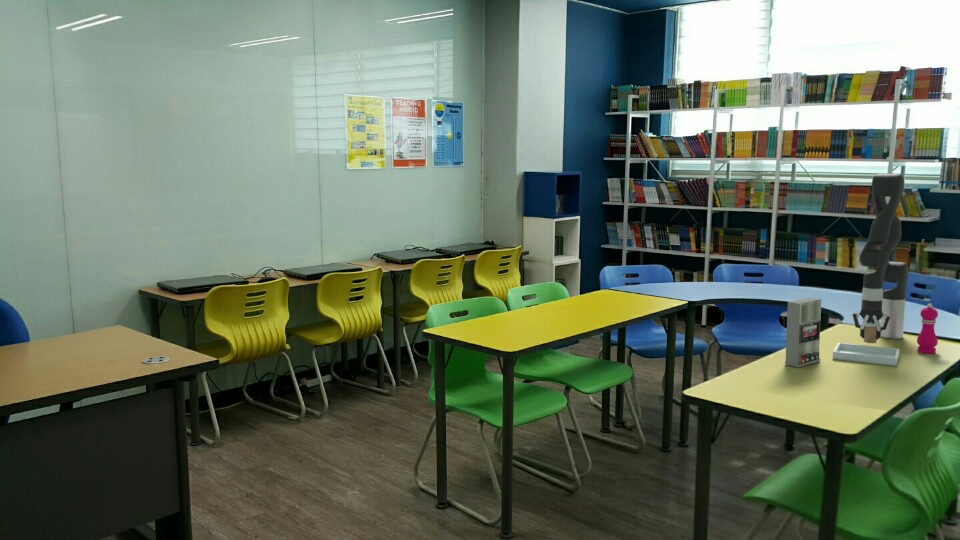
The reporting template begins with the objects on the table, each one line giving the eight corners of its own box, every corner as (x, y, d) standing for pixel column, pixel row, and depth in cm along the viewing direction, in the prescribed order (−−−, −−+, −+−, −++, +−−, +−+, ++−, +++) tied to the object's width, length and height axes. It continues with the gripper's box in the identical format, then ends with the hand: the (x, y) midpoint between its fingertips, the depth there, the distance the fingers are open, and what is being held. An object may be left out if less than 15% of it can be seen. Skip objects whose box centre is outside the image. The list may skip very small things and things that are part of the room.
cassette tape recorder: (799, 368, 275) (801, 304, 271) (784, 364, 280) (787, 301, 276) (820, 362, 282) (823, 299, 279) (806, 358, 287) (809, 297, 284)
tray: (838, 349, 299) (838, 342, 299) (899, 356, 288) (899, 348, 287) (832, 358, 286) (833, 351, 286) (896, 366, 274) (896, 358, 274)
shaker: (863, 339, 302) (864, 321, 300) (877, 341, 299) (878, 322, 298) (862, 342, 298) (863, 323, 296) (876, 343, 295) (877, 324, 294)
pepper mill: (940, 354, 288) (943, 305, 285) (920, 354, 290) (923, 305, 287) (932, 349, 295) (936, 302, 292) (913, 349, 297) (916, 301, 294)
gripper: (892, 297, 295) (890, 338, 297) (853, 295, 302) (851, 334, 305) (891, 301, 288) (889, 342, 291) (851, 298, 296) (849, 338, 299)
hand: (870, 338), depth 298 cm, fingers closed on shaker, 4 cm apart
